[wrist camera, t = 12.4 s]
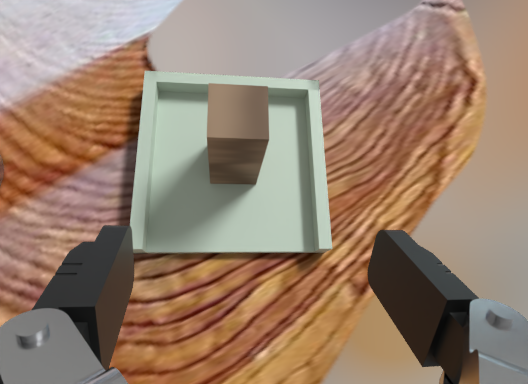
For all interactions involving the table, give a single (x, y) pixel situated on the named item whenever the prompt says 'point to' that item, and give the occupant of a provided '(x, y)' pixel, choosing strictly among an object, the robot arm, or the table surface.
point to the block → (236, 132)
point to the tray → (228, 195)
